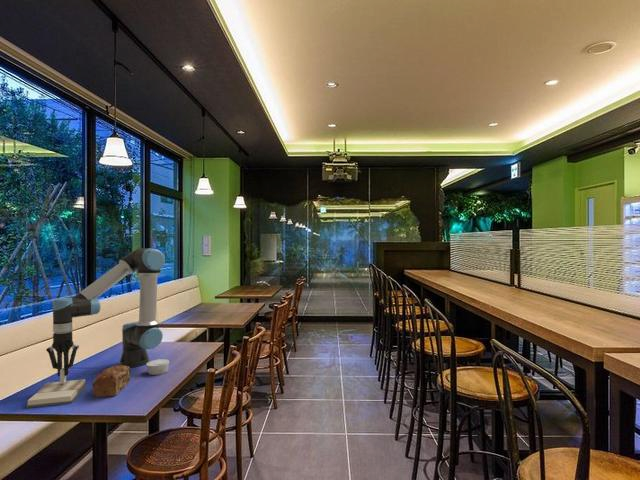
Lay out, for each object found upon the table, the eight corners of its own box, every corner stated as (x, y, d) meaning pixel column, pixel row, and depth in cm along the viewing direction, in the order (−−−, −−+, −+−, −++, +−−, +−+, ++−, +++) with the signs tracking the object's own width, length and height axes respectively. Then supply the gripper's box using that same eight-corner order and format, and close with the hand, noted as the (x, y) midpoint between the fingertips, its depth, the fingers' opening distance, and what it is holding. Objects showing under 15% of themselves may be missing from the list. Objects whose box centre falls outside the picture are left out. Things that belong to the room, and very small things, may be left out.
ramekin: (146, 377, 201) (146, 366, 201) (146, 370, 211) (146, 360, 211) (169, 373, 205) (169, 363, 205) (168, 367, 215) (168, 357, 215)
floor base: (86, 386, 189) (86, 380, 189) (72, 403, 170) (72, 395, 170) (46, 390, 185) (46, 383, 185) (26, 408, 165) (26, 400, 165)
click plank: (85, 383, 189) (85, 379, 188) (77, 393, 178) (77, 388, 178) (47, 387, 185) (46, 382, 184) (36, 397, 174) (36, 392, 174)
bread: (116, 397, 176) (116, 374, 176) (91, 398, 175) (90, 375, 175) (131, 382, 194) (131, 361, 194) (108, 383, 193) (108, 362, 193)
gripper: (43, 334, 178) (43, 387, 178) (76, 332, 181) (76, 384, 182) (49, 330, 185) (50, 381, 185) (81, 329, 189) (81, 378, 189)
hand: (63, 382), depth 183 cm, fingers closed
